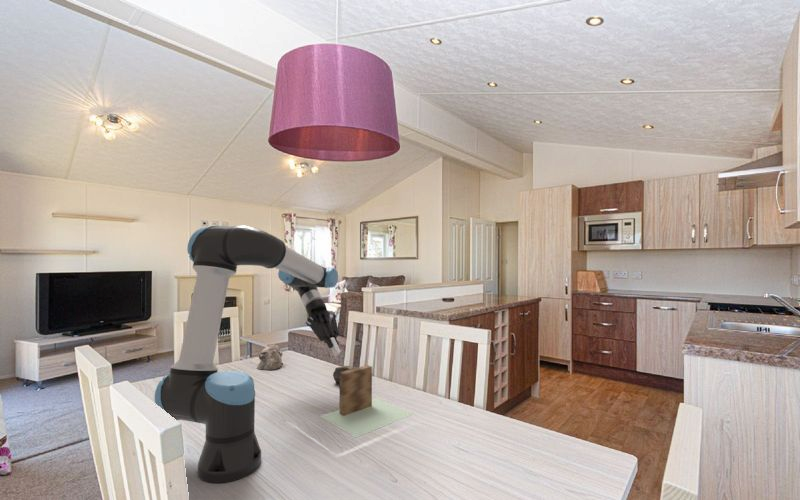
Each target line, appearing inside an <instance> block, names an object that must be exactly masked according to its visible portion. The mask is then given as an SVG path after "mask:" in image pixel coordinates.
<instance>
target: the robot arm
mask: <svg viewBox="0 0 800 500" xmlns="http://www.w3.org/2000/svg"><path fill="white" fill-rule="evenodd" d="M186 250H187V254H188V255H189V256H188V257H189V260H191V262H192V263H193V264H192V269H193V271H194V272H195V273H196V277H195V281H194V282H195V284H194V286H193V287H194V288H193V292H192V297H191V301H190V307H189V311H188V315H187V319H186V320H187V321H186V325H185V330H184V334H183V339H182V344H181V349H180V353H179V358H178V360H177V361H176V362H175V363H173V364H172V365H171V367H170V370H169V373H167V374H165V375H164V376H163V377H162V378H161V379H162V380H160V381H159V382H158V384H157V386H156V387H155V392H154V404H155V403H156V404H157V405H158V406H160V407H161V408H162V409H164V410H165V411H166V412H167V413H169V414H170V415H171V416H172V417H174V418H175V419H176V421H186V422H192V423H198V424H202V425H205V442H204V444H203V447H202V450H201V454H200V456H199V458H198V459H199V460H198V463H197V476H198V478H199V479H200V480H202V481H204V482H207V483H213V484H214V483H215V484H219V483H220V484H222V483H229V482H233V481H236V480H240V479H243V478H244V477H247V476H249V475H250V474H251V473H253V472H255V471H256V470H257V469H258V468H259V467H260V465H261V463H262V449H261V446H260V443H259V441H258V439H257V435H256V432H255V416H256V415H255V414H256V413H255V412H256V411H255V408H256V406H255V405H256V390H255V382H254V379H253V377H252V376H251V375H250V374H248V373H246V372H244V371H238V370H230V371H228V370H223V371H222V370H221V371H219V368H218V366H217V365H216V363H214V360H215V355H216V349H217V344H218V339H219V333H220V329H221V322H222V317H223V312H224V307H225V302H226V297H227V292H228V291H227V290H228V286H229V280H230V278H231V277H233V276H235V275H236V274H237V269H238V266H259V267H263V268H266V269H276V270H278V273H277V275H278V279H279V280H280V281H281V282H282V283H284V284H285V285H286V286H289V287H290V288H291V289H293V290H294V291H296V292H297V293H298V295H299V297H300V299H301V301H302V304H303V306H304V308H305V311H306V312H307V313H306V314H307V315H308V318H307V319H306V321H305V324H306V325H307V326H309V328H310V329H311V331H312V332H313V333H314V334H315V336H316V337H317V339H318V340H319V341H320V342H323V343H325V344H326V345H327V347H328V348H329V349H331V352H332V354H333V356H334V357H338V356H340V354H341V352H342V351H341V349H340V347H339V344H340V343H339V341H338V339H337V338H338V337H339V335H340V332H339V327H338V323H337V320H336V319H337V315H336V314H335V313H334V314H330V312H329V311H328V308H327V305H326V303H325V301H324V299H323V297H322V295H321V292H320V291H319V290H318V288H322V289H323V288H324V289H328V288H331V289H332V288H334V287H336V286H337V284H338V282H339V273H338V271H337V269H336V268H334V267H329V266H328V267H324V266H323V265H320V264H319V263H316V262H315V261H313V260H311V259H310V258H308V257H305V256H304V255H303V254H300V253H298V252H297V251H295V250H293V249H291V248H290V247H287V245H286V244H285V242H284V241H283V240H281V239H280V238H278V237H276V236H274V235H273V234H270V233H268V232H267V231H265V230H261V229H259V228H256V227H253V226H250V225H216V224H215V225H210V226H203V227H201V228H199V229H196V231H194V232H193V233H192V235H191V236H190V238H189V240H188V243H187V249H186ZM156 404H155V405H156ZM175 419H174V420H175Z"/></svg>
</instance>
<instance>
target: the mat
mask: <svg viewBox="0 0 800 500" xmlns="http://www.w3.org/2000/svg"><path fill="white" fill-rule="evenodd" d="M412 415H414V414H413V413H411V412H409V411H407V410H405V409H402V408H400V407H397V406H396V405H393V404H391V403H389V402H386V401H384V400H382V399H380V398H377V397H372V406H371V407H368V408H365V409H362V410H359V411H356V412H353V413H351V414H348V415H345V416H343V415H341V414H339V409H337V410H334V411H331V412H327V413H325V414H322V415H319V417H320V418H322V419H323V420H325V421H327V422H329V423H330V424H332V425H334V426H335V427H336V428H337V429H340V430H342V431H343V432H345V433H347V434H348V435H350V436H352V437H353V438H359V437H360V436H364V435H366V434H369V433H370V432H373V431H376V430H378V429H380V428H383V427H385V426H388V425H390V424H392V423H395V422H397V421H401V420H403V419H404V418H407V417H410V416H412Z"/></svg>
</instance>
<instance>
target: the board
mask: <svg viewBox="0 0 800 500" xmlns="http://www.w3.org/2000/svg"><path fill="white" fill-rule="evenodd" d="M357 367H358V366H357ZM372 368H373V366H371V365H368V364H367V365H362V366H360V367H358V368H354V369H351V370H347V371H343V372H340V384H339V406H338V407H339V409H338V410H339V414H341V415H343V416H345V415H348V414H351V413H353V412H356V411H359V410H362V409H365V408H368V407H371V406H372V399H373V396H372V395H373V391H372V390H373V386H372V385H373V369H372Z"/></svg>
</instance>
